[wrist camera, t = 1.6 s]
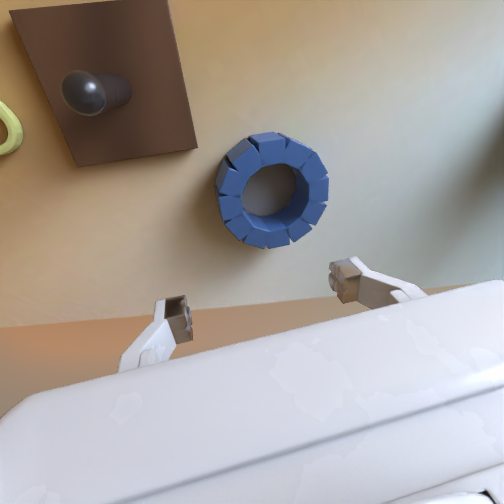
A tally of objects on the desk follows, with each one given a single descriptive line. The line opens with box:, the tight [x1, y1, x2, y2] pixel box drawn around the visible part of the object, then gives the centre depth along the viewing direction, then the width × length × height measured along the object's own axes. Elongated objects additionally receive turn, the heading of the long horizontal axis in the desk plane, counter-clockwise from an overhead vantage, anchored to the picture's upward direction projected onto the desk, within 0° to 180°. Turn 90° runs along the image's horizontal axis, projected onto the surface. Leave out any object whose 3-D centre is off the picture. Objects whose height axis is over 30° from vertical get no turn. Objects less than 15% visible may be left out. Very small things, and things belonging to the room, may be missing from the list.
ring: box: [215, 132, 329, 249], centre depth 27 cm, size 10×10×4 cm
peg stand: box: [9, 0, 198, 167], centre depth 18 cm, size 10×10×11 cm
